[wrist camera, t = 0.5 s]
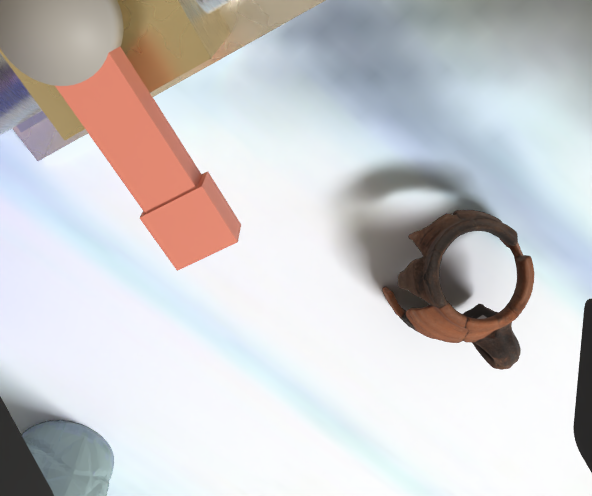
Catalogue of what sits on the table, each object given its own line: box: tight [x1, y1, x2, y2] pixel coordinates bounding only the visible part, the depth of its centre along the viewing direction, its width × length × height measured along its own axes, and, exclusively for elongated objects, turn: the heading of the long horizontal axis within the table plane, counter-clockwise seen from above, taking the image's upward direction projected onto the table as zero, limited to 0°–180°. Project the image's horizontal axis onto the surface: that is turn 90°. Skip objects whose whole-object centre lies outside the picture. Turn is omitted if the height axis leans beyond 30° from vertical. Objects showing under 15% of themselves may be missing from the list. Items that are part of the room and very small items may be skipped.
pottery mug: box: [383, 210, 534, 369], centre depth 39 cm, size 12×10×8 cm
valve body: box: [0, 0, 325, 161], centre depth 27 cm, size 22×10×12 cm, turn 117°
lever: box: [0, 0, 241, 271], centre depth 23 cm, size 13×4×2 cm, turn 27°
